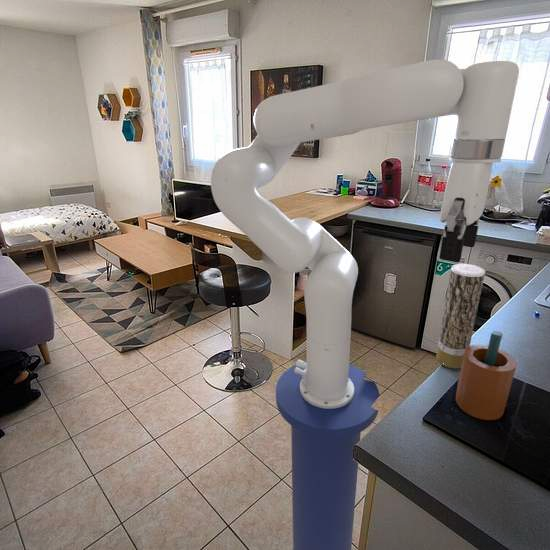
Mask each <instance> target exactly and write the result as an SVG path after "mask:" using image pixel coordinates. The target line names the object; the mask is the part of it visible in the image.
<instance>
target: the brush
mask: <svg viewBox="0 0 550 550" xmlns="http://www.w3.org/2000/svg"><path fill="white" fill-rule="evenodd" d="M502 337H503V333H502V332H501V331H499V330H493V331H491V333H490V337H489V341H488V350H487V355H486V359H485V363H484V364H486V365H489V366H495V363H496V359H497V354H498V350H499V349H500V345H501V342H502Z"/></svg>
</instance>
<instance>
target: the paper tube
mask: <svg viewBox="0 0 550 550" xmlns="http://www.w3.org/2000/svg"><path fill="white" fill-rule="evenodd" d="M485 275H486V270H485V269H484V268H483V267H481V266H479V265H475V264H469V263H456V264H453V265H451V268H450V272H449V277H448V278H449V279H448V284H447V290H446V296H445V303H444V308H443V313H442V314H443V315H442V320H441V321H442V322H441V325H440V331H439V338H438V343H437V350H436V356H435V358H436V360H437V362H438V363H439V364H440V365H442V366H444V367H445V368H448V369H454V370H459V369H461V367H462V362H463V357H464V352H465V350H466V348H467V347H469V346H471V341H472V337H473V332H474V328H475V323H476V318H477V313H478V309H479V308H478V307H479V303H480V298H481V294H482V290H483V289H482V288H483V284H484V280H485ZM443 363H444V364H443Z"/></svg>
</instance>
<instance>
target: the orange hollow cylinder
mask: <svg viewBox="0 0 550 550" xmlns="http://www.w3.org/2000/svg"><path fill="white" fill-rule="evenodd" d="M488 346H489V344H488V345H487V344H472V345H470V346H469V347H467V348H466V350H465V352H464V357H463V362H462V367H461V368H460V372H459V378H458V382H457V387H456V392H455V403H456V404H457V406H458V407H459V408H460V409H461V410H462V411H463V412H464V413H466V414H468V415H469V416H471V417H473V418H476V419H479V420H484V421H497V420H498V419H501V418H502V417H503V416H504V413H505V409H506V406H507V402H508V399H509V395H510V391H511V387H512V384H513V380H514V376H515V374H516V373H515V372H516V369H517V365H518V362H517V360H516V358H515V357H514V356H512V354H510V353H509V352H508V351H506V350H503V349H501V348H499V350H498V354H497V359H496V363H495V366H489V365H486V364H484V363H485V359H486V355H487V350H488Z"/></svg>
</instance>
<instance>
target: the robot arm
mask: <svg viewBox="0 0 550 550" xmlns="http://www.w3.org/2000/svg"><path fill="white" fill-rule="evenodd" d="M519 75H520V68H519V66H518V64H517V63H516V62H514V61H511V60H493V61H483V62H479V63H474V64H471V65H469V66H467V67H466V68H459V67H458V66H457V65H456V64H455V63H454V62H452V61H450V60H447V59H438V58H437V59H430V60H425V61H420V62H414V63H410V64H406V65H400V66H397V67H392V68H387V69H383V70H380V71H376V72H372V73H368V74H365V75H360V76H355V77H351V78H346V79H343V80H339V81H335V82H331V83H326V84H322V85H321V84H320V85H317V86H312V87H309V88H303V89H298V90H293V91H289V92H284V93H280V94H279V93H278V94H275V95H271V96H269V97H267V98H265V99H264V100H262V101H261V102H260V103H259V104H258V105H257V107H256V109H255V112H254V115H253V126H254V129H255V132H256V134H257V135H256V136H255V138H254V139H253V140H252V142H251V143H250V145H249V146H247V147H240V148H234V149H232V150H230V151H227V152H225V153H224V154H222V155H220V157H219V158H217V160H216V162H214V166H213V167H212V170H211V177H210V189H211V194H212V198H213V201H214V203H215V205H216V206H217V208H218V209H219V211H220V212H221V213H222V215H223V216H224V217H225V218H226V219H227V220H228V221H229V222H230V223H231V224H233V226H235V227H236V228H237V229H238V230H240V232H242V233H243V234H244V235H245V236H246V237H247V238H248V239H249V240H250V241H251V242H252V243H253V244H254V245H255V246H257V248H259V250H260V251H262V252H263V254H265V255H266V256H267V257H268V258H270V260H271V261H272V262H273V263H274V264H275V265H276V266H277V267H279V268H280V269H282V270H283V271H285V272H287V273H290V274H298V273H301V272H302V271H304V270H305V269H308V270H309V271H310V273H309V275H308V277H307V279H306V282H305V284H304V285H305V286H304V290H303V291H304V292H303V293H304V294H303V295H304V296H303V297H304V298H303V299H304V305H305V314H306V315H305V316H306V361H307V363H305V361H304V360H302V359H297V360H296V362H295V365H296V368H295V370H294V372H295V373H297V374H300V375H302V377H303V379H302V380H301V382H300V393H301V395H302V397H303V398H304V399H305V400H306V401H307V402H308V403H310V404H312V405H314V406H316V407H319V408H324V409H334V408H339V407H342V406H345V405H346V404H348V403H349V402H350V401H351V400H352V398H353V396H354V385H353V383H352V381H351V380H350V379H349V378H348V373H349V364H350V353H351V337H352V305H353V296H354V290H355V287H356V283H357V281H358V275H359V267H358V262H357V261H356V259H355V257H353V255H352V254H351V253H350V252H349V250H347V249H346V248H345V247H344V246H343V245H342V244H341V243H340V242H339V241H338V240H337V239H336V238H335V237H333V235H331V234H330V233H329V232H328V231H327V230H326V229H325V228H324V227H323V226H322V225H321V224H319V223H318V222H316V220H313V219H310V218H307V217H296V218H293V219H290V218H289V217H288V216H287V215H286V214H284V213H283V212H282V211H281V210H280V208H278V207H277V206H276V205H275V204H274V203H273V202H271V201H270V200H268V199H266V198H265V197H263V196H262V195H261V194H260V193H259V192H258V191H257V190H258V189H260V188H262V187H264V186H266V185H268V184H269V183H271V182H272V181H273V180H274V179H275V178H276V176H277V175H278V174H279V173H280V171H281V170H282V168H283V167H284V166H285V165H286V163H287V162H288V160H289V159H290V158H291V157H292V155H293V154H294V153H295V151H296V150H297V149H298V147H299V146H300V144H301V143H306V142H312V141H317V140H324V139H330V138H331V139H332V138H338V137H343V136H348V135H349V136H350V135H353V134H357V133H359V132H361V131H365V130H369V129H375V128H381V127H387V126H392V125H397V124H398V125H399V124H403V123H405V124H406V123H411V122H415V121H416V122H417V121H423V120H424V121H425V120H429V119H430V120H431V119H437V118H440V117H447V116H453V115H454V122H453V127H452V128H453V129H452V136H451V140H450V147H449V154H448V161H449V162H451V166H450V169H449V172H448V177H447V179H446V184H445V190H444V193H443V199H442V204H441V209H440V214H439V221H440V222H441V223H443V224H444V223H445V225H444V228H443V229H444V230H443V233H442V238H441V245H440V250H439V260H442V261H446V262H451V263H456V264H459V262H460V261H461V259H462V254H463V250H464V249H463V248H464V247H466V248H474V247H475V246H476V241H477V235H478V231H479V222H480V217H482V215H483V212H484V209H485V206H486V202H487V197H488V192H489V187H490V182H491V175H492V171H493V164H495V163H500V162H502V157H503V154H504V147H505V143H506V138H507V134H508V129H509V124H510V118H511V115H512V109H513V104H514V99H515V95H516V90H517V85H518V80H519ZM297 367H298V368H297ZM299 368H300V369H299ZM301 369H304V371H303V370H301Z"/></svg>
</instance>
